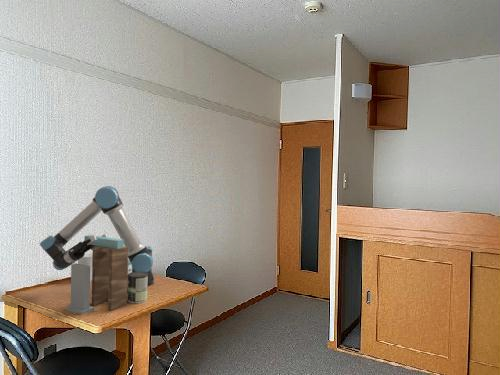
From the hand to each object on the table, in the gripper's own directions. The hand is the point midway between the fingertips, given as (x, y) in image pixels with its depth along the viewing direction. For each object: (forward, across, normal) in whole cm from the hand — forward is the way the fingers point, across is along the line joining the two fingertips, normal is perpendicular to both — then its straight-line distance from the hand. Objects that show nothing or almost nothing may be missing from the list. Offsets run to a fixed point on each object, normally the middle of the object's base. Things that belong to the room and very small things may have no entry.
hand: (100, 236), depth 192 cm
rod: (0, 0, -5) cm, 5 cm away
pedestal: (-17, +12, -30) cm, 37 cm away
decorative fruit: (-19, -21, -29) cm, 41 cm away
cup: (-53, -25, -10) cm, 59 cm away
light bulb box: (-49, -51, -12) cm, 72 cm away
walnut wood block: (-11, 0, -34) cm, 35 cm away
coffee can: (-6, -14, -36) cm, 40 cm away
